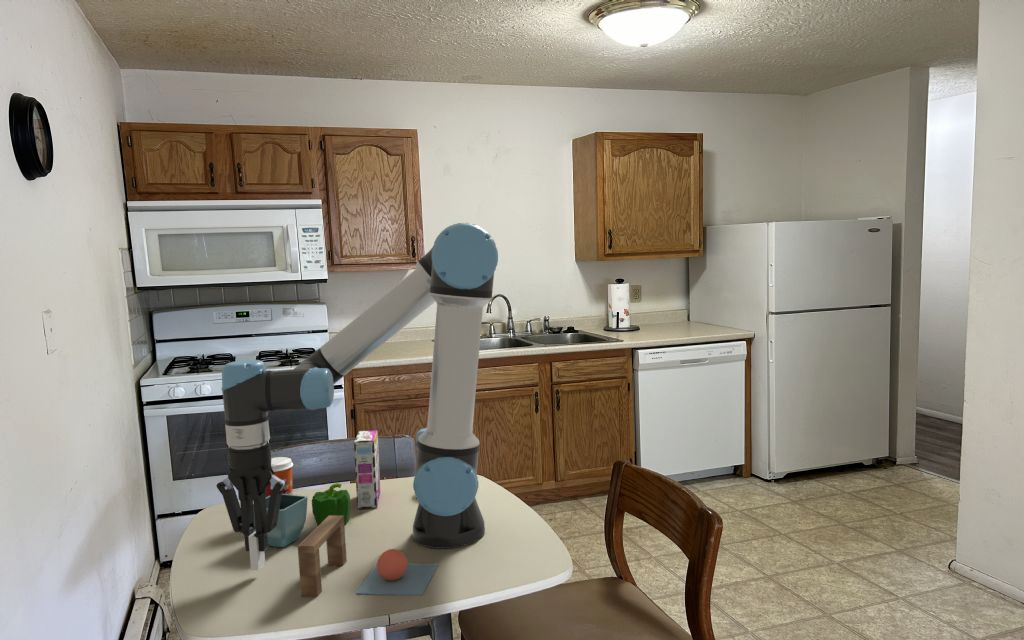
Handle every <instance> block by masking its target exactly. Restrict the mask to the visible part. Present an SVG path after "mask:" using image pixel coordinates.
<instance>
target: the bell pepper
mask: <svg viewBox="0 0 1024 640" xmlns="http://www.w3.org/2000/svg"><path fill="white" fill-rule="evenodd" d="M342 485H343V484H342V483H340V482H337V483H332V484H331V485H330V486H329V488H328V489H327V490H325V491H317V492H315V493H314V494H313V496H312V499H311V510H312V511H311V512H312V513H313V514H312V515H313V517H314V521H315V524H316V527H318V526H319V525H320V524H321V523H322V522H323V521H324V520H325V519H326V518H327V517H328V516H344V527H345V526H346V525H347V524H348V522H349V518H350V515H351V508H352V506H351V505H352V503H351V496H350V493H349V491H348V490H347V489H340V488H342ZM337 488H339V489H340V490H336V489H337Z"/></svg>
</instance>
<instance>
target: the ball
mask: <svg viewBox="0 0 1024 640" xmlns="http://www.w3.org/2000/svg"><path fill="white" fill-rule="evenodd" d="M376 564H377V570H378V573H379V574H380V576H381V577H382V578H384V579H385V580H389V581H394V580H397V579H399V578H401V577H402V576H403V575H404V574H405V572H406V570H407V564H408V559H407V556H406V555H405V554H404V553H403V552H402V551H401V550H399V549H396V548H391V549H390V548H389V549H387V550H385V551H383V552H382V553H381V555H379V557H378V559H377V563H376Z"/></svg>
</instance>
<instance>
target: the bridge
mask: <svg viewBox="0 0 1024 640" xmlns="http://www.w3.org/2000/svg"><path fill="white" fill-rule="evenodd" d="M345 531H346V529H345V527H344V516H328V517H327V518H326V519H325V520H324V521H323V522H322V523H321V524H320V525H319V526H316V528H315V529H313V530H312V532H311V533H309V534H308V535H307V536H306V537H305V539H303V540H302V541H301V542H300V543H299V544H298V545H297V555H298V558H297V559H298V569H299V571H298V572H299V584H300V595H301V596H300V597H305V598H307V597H308V598H309V597H311V598H312V597H313V598H317V597H319V596H320V594H322V592H323V586H322V573H321V571H322V570H321V559H320V548H321V546H323V544H324V543H326V553H327V554H326V555H327V564H328V565H327V566H334V567H335V566H340V567H343V566H344V565H345V564H346V562H347V545H346V544H347V543H346V532H345Z"/></svg>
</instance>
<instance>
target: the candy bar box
mask: <svg viewBox="0 0 1024 640" xmlns="http://www.w3.org/2000/svg"><path fill="white" fill-rule="evenodd" d="M353 446H354V447H353V451H354V467H355V469H354V470H355V488H356V503H357V504H356V509H357V510H366V509H376V508H378V505H379V499H380V496H381V476H380V459H379V458H380V454H379V453H380V452H379V433H378V430H377V429H376V430H360V431H359V430H358V433H357V434H356V437H355V439H354V441H353Z"/></svg>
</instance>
